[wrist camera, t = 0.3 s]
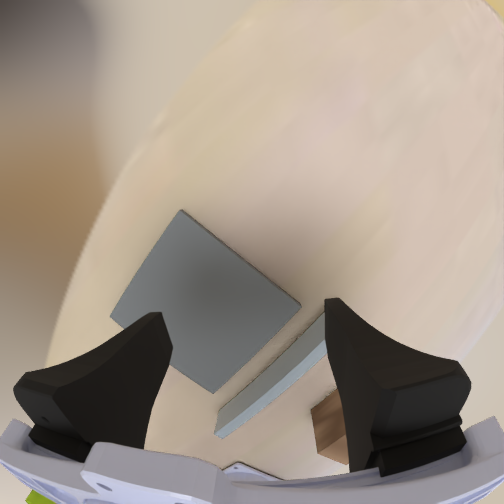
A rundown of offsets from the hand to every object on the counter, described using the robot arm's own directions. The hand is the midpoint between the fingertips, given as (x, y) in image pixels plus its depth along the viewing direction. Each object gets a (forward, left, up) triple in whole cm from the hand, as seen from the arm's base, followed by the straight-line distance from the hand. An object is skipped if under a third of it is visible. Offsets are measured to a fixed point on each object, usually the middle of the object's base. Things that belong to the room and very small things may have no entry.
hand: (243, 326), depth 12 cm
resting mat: (-6, +1, -11) cm, 12 cm away
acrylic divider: (-6, -8, -11) cm, 14 cm away
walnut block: (-6, -16, -11) cm, 20 cm away
